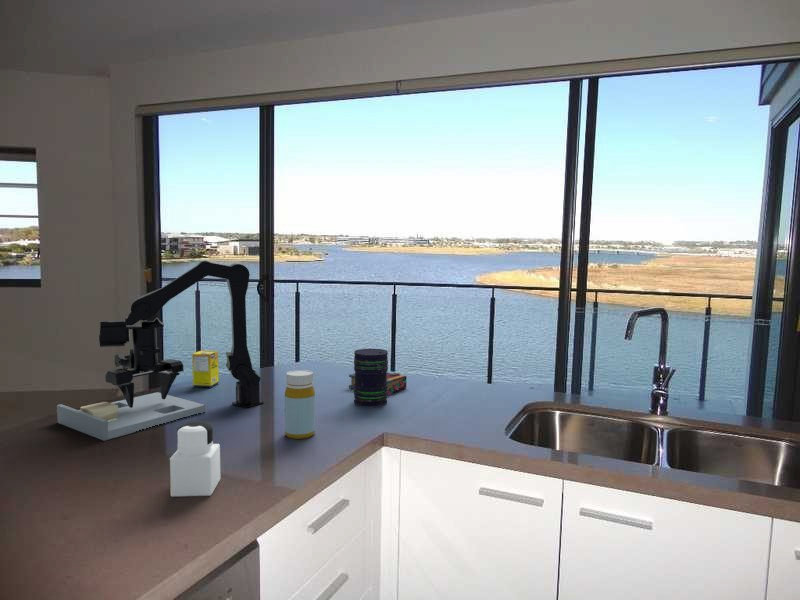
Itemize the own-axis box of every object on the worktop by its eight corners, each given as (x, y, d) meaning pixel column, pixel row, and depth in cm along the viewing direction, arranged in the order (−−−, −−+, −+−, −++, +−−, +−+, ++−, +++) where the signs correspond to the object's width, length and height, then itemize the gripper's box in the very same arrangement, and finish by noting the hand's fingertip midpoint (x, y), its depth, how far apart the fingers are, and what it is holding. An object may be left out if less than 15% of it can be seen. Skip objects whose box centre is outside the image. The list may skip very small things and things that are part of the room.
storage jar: (347, 404, 154) (347, 353, 153) (362, 396, 163) (363, 347, 162) (379, 408, 150) (379, 356, 149) (393, 400, 159) (393, 350, 158)
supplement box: (219, 383, 176) (218, 350, 175) (210, 388, 170) (210, 354, 169) (201, 383, 177) (200, 350, 176) (192, 387, 171) (192, 353, 170)
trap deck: (205, 412, 145) (205, 395, 145) (104, 440, 123) (103, 421, 122) (157, 398, 157) (157, 383, 157) (57, 422, 135) (56, 405, 135)
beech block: (118, 417, 133) (117, 405, 133) (93, 423, 129) (93, 411, 128) (105, 413, 137) (105, 401, 137) (80, 419, 132) (80, 407, 132)
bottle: (319, 431, 131) (319, 371, 129) (305, 441, 124) (305, 377, 123) (294, 428, 133) (294, 368, 132) (279, 437, 126) (278, 374, 125)
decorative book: (371, 382, 182) (371, 367, 182) (410, 389, 173) (410, 374, 172) (348, 388, 173) (348, 373, 173) (388, 397, 164) (388, 381, 163)
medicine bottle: (182, 480, 103) (180, 418, 101) (220, 479, 103) (219, 418, 102) (169, 497, 96) (167, 431, 94) (211, 496, 96) (209, 430, 95)
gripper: (159, 337, 153) (162, 390, 155) (92, 347, 138) (95, 406, 139) (183, 340, 147) (185, 396, 149) (116, 351, 132) (119, 414, 133)
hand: (147, 403), depth 143 cm, fingers open, 9 cm apart
